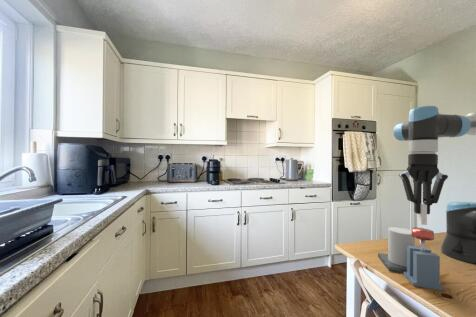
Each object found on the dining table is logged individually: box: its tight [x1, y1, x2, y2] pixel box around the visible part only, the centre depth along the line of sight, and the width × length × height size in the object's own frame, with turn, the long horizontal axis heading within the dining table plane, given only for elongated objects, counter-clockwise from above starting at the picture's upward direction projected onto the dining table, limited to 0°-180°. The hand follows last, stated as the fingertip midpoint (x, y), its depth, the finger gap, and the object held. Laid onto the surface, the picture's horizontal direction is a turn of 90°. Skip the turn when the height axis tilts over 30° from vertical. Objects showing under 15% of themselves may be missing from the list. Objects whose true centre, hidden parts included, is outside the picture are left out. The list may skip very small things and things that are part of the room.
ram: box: [411, 227, 435, 252], centre depth 71 cm, size 6×6×10 cm
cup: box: [387, 226, 416, 267], centre depth 82 cm, size 8×8×12 cm
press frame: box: [402, 245, 445, 291], centre depth 71 cm, size 8×7×10 cm
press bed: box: [377, 252, 407, 274], centre depth 82 cm, size 12×12×2 cm
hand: (421, 223), depth 71 cm, fingers closed
